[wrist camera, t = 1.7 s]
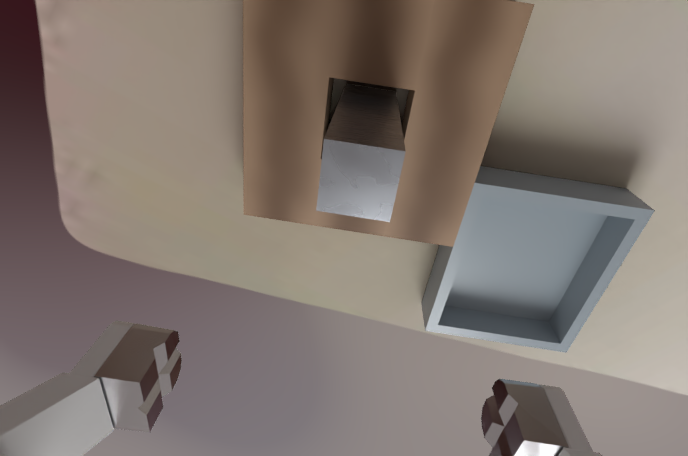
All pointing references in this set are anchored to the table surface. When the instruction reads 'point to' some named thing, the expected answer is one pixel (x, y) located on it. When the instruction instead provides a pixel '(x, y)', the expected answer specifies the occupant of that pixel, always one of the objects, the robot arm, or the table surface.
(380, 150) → the pin
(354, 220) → the block
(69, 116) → the table surface
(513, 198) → the tray
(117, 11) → the table surface
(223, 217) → the table surface
